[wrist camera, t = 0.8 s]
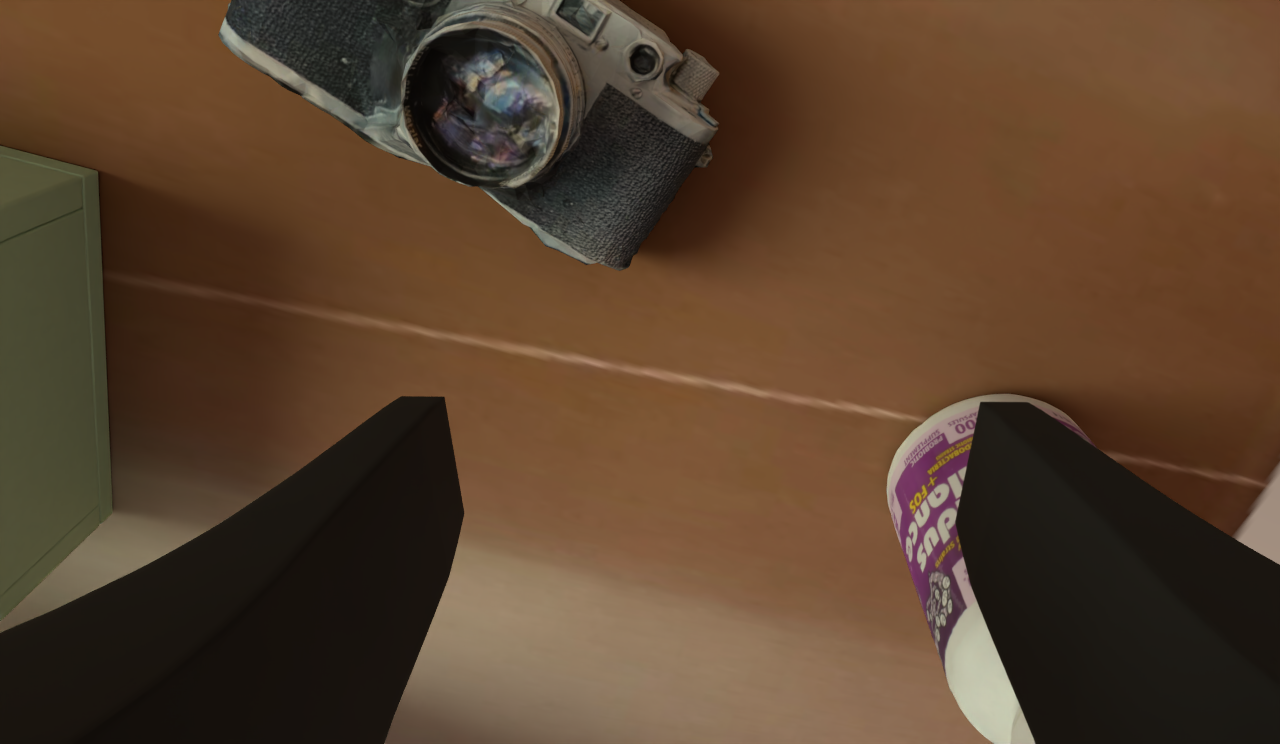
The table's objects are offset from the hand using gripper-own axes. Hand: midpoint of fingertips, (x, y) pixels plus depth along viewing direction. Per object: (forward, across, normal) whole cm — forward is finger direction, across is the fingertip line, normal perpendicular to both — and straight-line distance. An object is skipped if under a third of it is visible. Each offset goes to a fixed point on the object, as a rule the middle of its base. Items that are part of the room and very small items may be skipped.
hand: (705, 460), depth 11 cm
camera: (+10, +5, -4) cm, 12 cm away
